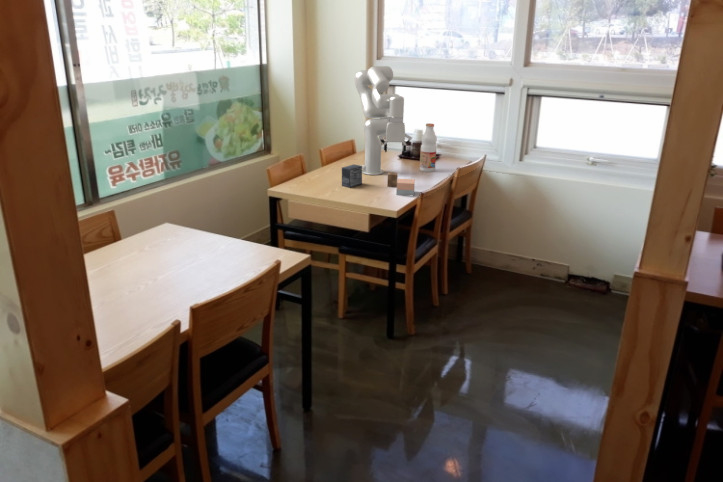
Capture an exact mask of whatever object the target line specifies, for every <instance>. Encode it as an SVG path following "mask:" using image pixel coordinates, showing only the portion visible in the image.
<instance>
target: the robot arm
mask: <svg viewBox="0 0 723 482" xmlns="http://www.w3.org/2000/svg"><path fill="white" fill-rule="evenodd" d="M393 78H394V71H393V69H392V67H390V66H388V65H375V66H370V67H369V68H368V69H365V70H364V69H363V70H359V71H357V72H356V73H355V75H354V84H355V85H354V86H355V89H356V90H357V93H358V95H359V98H360V102H361V108H362V111H363V112H362V113H363V115H364V117H365V118H367V120H365V121H364V123H363V132H364V164H362V165H360V164H359V165H360V166H362V175H369V176H381V175H382V174H383V173H384V170H382V169H381V165H382V161H381V160H382V144H383V151H384V153H387V152H388V144H387V143H402V145H403V146H402V153H403V154H405V152H407V145H408V144H409V143H410V142H411V140H412V138H413V137H412V136H411V135H409V134H407V133H406V125H405V122H404V110H405V108H404V106H405V98H404V97H403V96H401V95H400V94H397V93H385V92H386V91H387V90H388V89H389V87H390V82H392V81H393ZM369 86H372V87H373V88H370V87H369ZM383 93H384V94H383ZM384 137H385V140H384V139H383V138H384ZM406 138H407V139H408V140H405V139H406Z"/></svg>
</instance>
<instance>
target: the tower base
mask: <svg viewBox="0 0 723 482" xmlns="http://www.w3.org/2000/svg"><path fill="white" fill-rule="evenodd" d="M415 187H416V186H414V190H398V189H397V188H396V192H395V193H396V196H405V195H413V196H415V189H416V188H415ZM413 196H412V197H413Z"/></svg>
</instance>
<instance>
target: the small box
mask: <svg viewBox="0 0 723 482" xmlns="http://www.w3.org/2000/svg"><path fill="white" fill-rule="evenodd" d="M362 170H363V169H362V166H360V164H350V165H347V166H343V167H341V187H345V188H349V189H351V188H354V187H357V186H358V187H359V186H362V185H363V173H362Z"/></svg>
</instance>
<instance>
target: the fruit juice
mask: <svg viewBox="0 0 723 482" xmlns="http://www.w3.org/2000/svg"><path fill="white" fill-rule="evenodd" d="M434 127H435V124H434V123H425V131H424V133H423V135H422V136H421V139H420V140H421V145H420V153H419V154H420V155H419V156H420V157H419V171H421V172H424V173H433V172H435V170H436V164H437V163H436V161H437V160H436V159H437V144H436V143H437V135H436V134H435V131H434Z"/></svg>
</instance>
